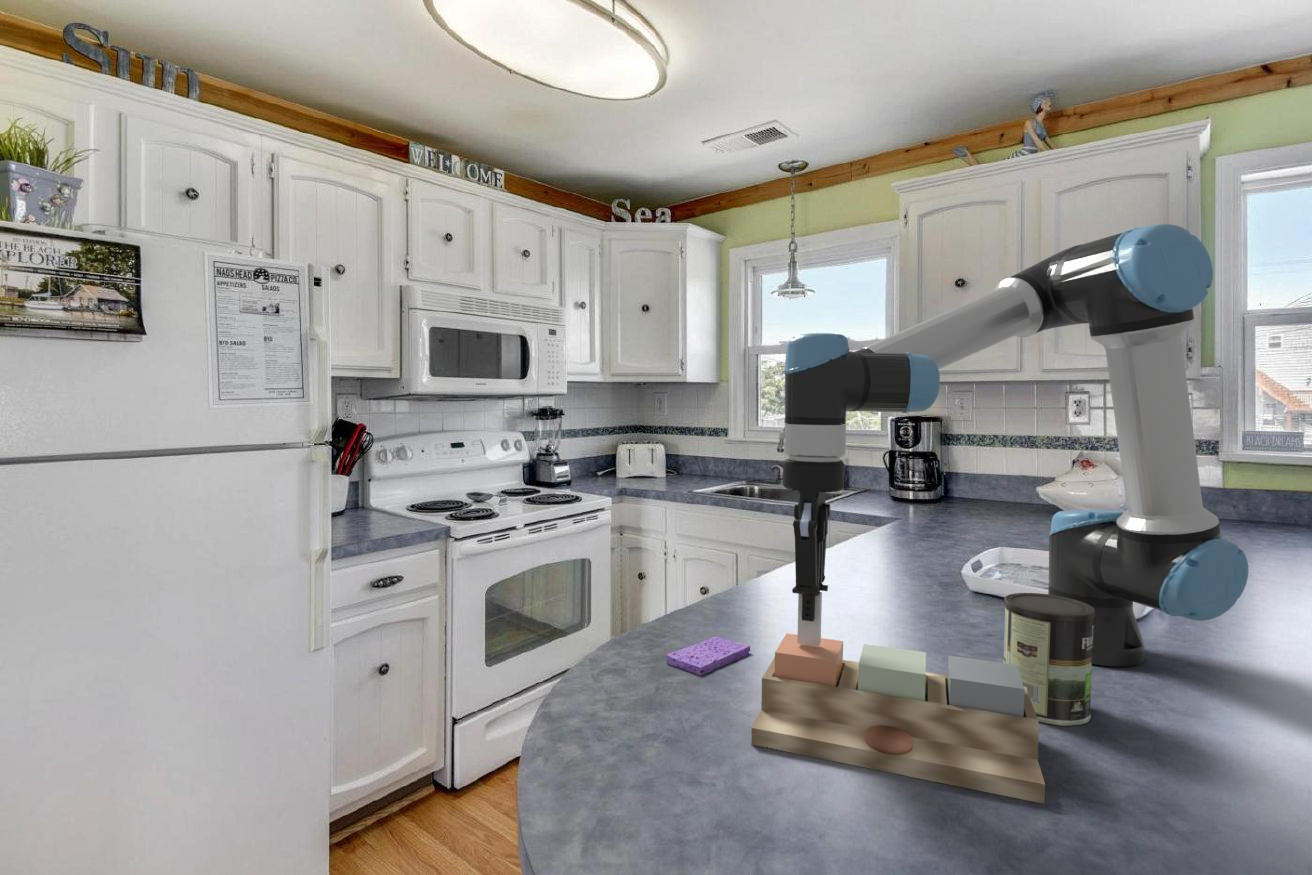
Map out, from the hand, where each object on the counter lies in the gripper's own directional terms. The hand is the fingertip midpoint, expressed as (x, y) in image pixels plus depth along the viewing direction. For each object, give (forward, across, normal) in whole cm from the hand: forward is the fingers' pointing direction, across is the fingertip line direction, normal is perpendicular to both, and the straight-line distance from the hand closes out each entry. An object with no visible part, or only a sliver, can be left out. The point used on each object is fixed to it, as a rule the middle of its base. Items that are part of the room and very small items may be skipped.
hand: (809, 642), depth 85 cm
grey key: (+5, 0, +20) cm, 21 cm away
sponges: (+10, -14, -17) cm, 24 cm away
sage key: (+5, 0, +10) cm, 12 cm away
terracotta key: (+6, 0, 0) cm, 6 cm away
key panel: (+9, +2, +10) cm, 14 cm away
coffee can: (+10, -15, +29) cm, 34 cm away
